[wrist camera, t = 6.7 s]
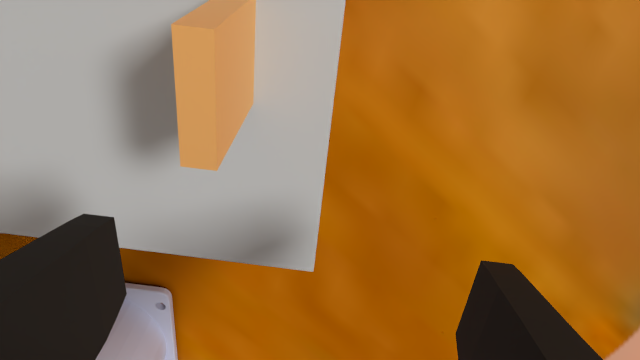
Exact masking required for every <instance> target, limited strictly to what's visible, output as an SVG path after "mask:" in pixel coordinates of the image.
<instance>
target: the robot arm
mask: <svg viewBox="0 0 640 360" xmlns="http://www.w3.org/2000/svg"><path fill="white" fill-rule="evenodd" d="M161 303H163V304H161ZM456 341H457V351H458V360H603V359H602V358H601V357H600V356H599V355H598V354H597V353H596V352H595V351H594V350H593V349H592V348H591V347H590V346H589V345H588V344H587V343H586V342H585V341H584V340H583V339H582V338H581V337H580V335H579V334H578V333H577V332H576V331H575V330H574V329H573V328H572V327H571V326H570V325H569V324H568V323H567V322H566V321H565V319H564V318H563V317H562V316H561V315H560V314H559V313H558V312H557V311H556V310H555V309H554V308H553V307H552V305H551V304H550V303H549V302H548V301H547V300H546V299H545V298H544V297H543V296H542V295H541V293H540V292H539V291H538V290H537V289H536V288H535V287H534V286H533V285H532V284H531V283H530V282H529V280H528V279H527V278H526V277H525V276H524V275H523V274H522V273H521V272H520V271H519V270H518V269H517V268H516V267H515V266H514V265H513V264H505V263H497V262H489V261H481V263H480V266H479V268H478V271H477V274H476V277H475V280H474V283H473V286H472V289H471V291H470V294H469V297H468V300H467V303H466V306H465V309H464V311H463V314H462V317H461V320H460V323H459V326H458V329H457V331H456ZM0 360H178V357H177V346H176V335H175V324H174V313H173V302H172V295H171V292H170V291H169V290H167V289H166V288H162V287H155V286H147V285H139V284H131V283H125V280H124V274H123V268H122V262H121V256H120V250H119V244H118V238H117V232H116V226H115V220H114V217H108V216H100V215H91V214H82V215H80V216H78V217H76V218H74V219H72V220H70V221H68V222H66V223H64V224H63V225H61V226H59V227H57V228H55V229H54V230H52V231H50V232H48V233H46V234H45V235H43V236H41V237H39V238H38V239H36V240H34V241H32V242H31V243H29V244H27V245H25V246H24V247H22V248H20V249H18V250H17V251H15V252H13V253H11V254H10V255H8V256H6V257H4V258H2V259H1V260H0Z"/></svg>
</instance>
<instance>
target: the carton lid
mask: <svg viewBox="0 0 640 360" xmlns="http://www.w3.org/2000/svg"><path fill="white" fill-rule="evenodd" d="M345 1H346V0H0V233H6V234H14V235H22V236H30V237H38V238H39V237H41V236H43V235H45V234H46V233H48V232H50V231H52V230H54V229H55V228H57V227H59V226H61V225H63V224H64V223H66V222H68V221H70V220H72V219H74V218H76V217H78V216H80V215H82V214H91V215H100V216H108V217H114V220H115V226H116V232H117V238H118V244H119V248H126V249H135V250H143V251H151V252H159V253H167V254H175V255H183V256H191V257H199V258H207V259H215V260H223V261H231V262H239V263H247V264H255V265H263V266H271V267H279V268H287V269H295V270H303V271H311V272H313V270H314V263H315V254H316V246H317V237H318V229H319V220H320V212H321V204H322V195H323V187H324V178H325V170H326V161H327V153H328V145H329V136H330V128H331V119H332V111H333V102H334V94H335V86H336V77H337V69H338V60H339V52H340V43H341V35H342V27H343V18H344V10H345Z"/></svg>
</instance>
